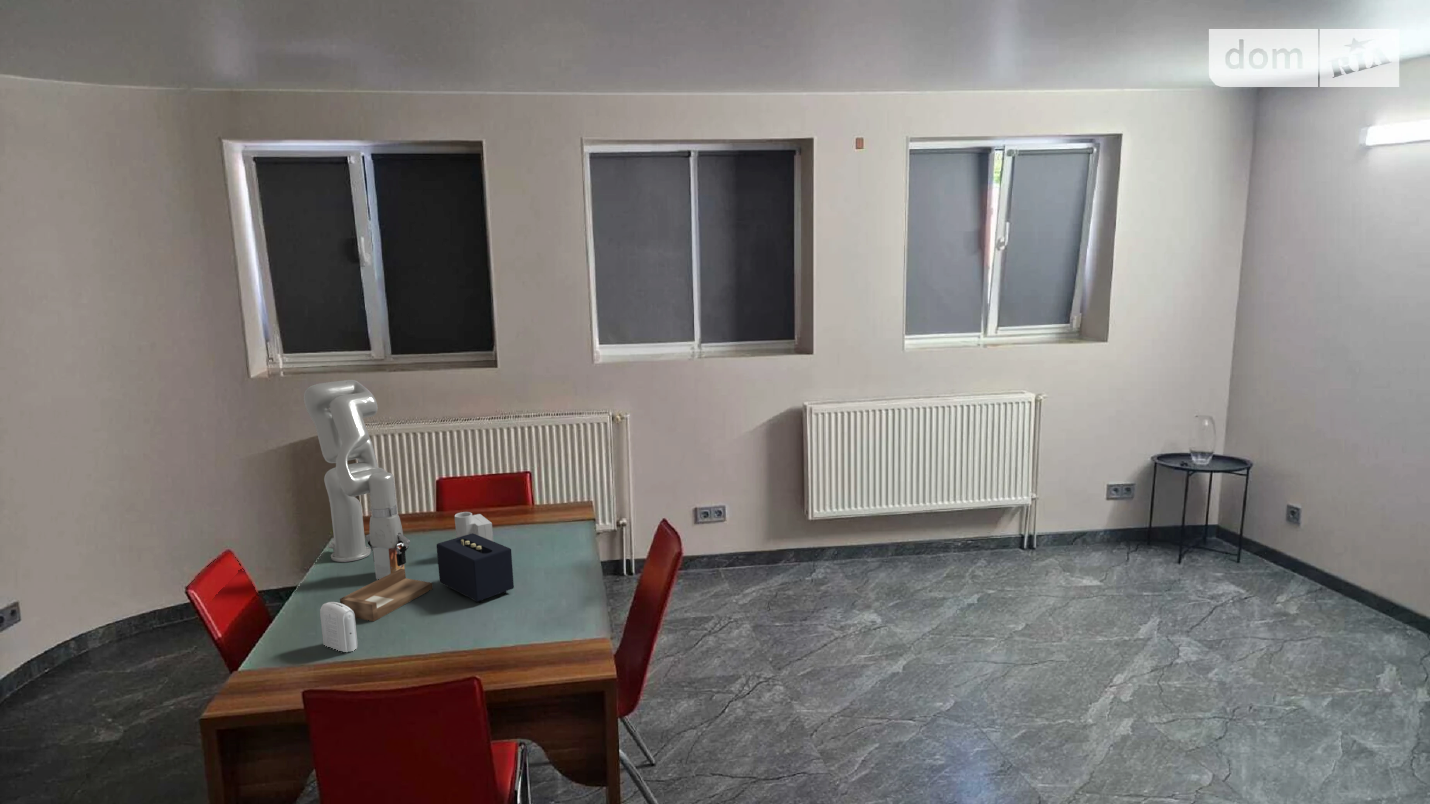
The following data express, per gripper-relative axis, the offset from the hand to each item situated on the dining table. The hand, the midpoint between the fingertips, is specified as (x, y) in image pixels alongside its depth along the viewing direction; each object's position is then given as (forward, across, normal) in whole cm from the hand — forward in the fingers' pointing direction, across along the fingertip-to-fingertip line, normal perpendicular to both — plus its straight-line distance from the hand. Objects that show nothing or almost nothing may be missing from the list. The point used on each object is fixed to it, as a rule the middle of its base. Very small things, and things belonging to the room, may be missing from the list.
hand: (390, 562), depth 265 cm
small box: (+5, 0, 0) cm, 5 cm away
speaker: (+5, +34, 0) cm, 34 cm away
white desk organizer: (+5, +13, +22) cm, 26 cm away
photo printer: (+5, +24, -43) cm, 49 cm away
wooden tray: (+5, +14, -16) cm, 22 cm away
